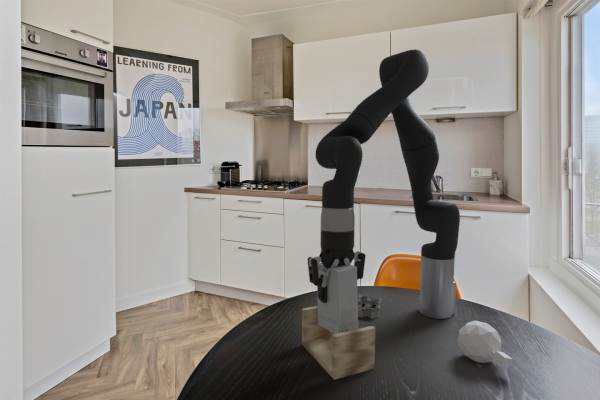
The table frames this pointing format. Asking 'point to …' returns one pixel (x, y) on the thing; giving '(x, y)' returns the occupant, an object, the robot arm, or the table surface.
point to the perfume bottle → (482, 344)
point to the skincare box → (339, 300)
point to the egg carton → (368, 306)
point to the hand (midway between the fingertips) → (336, 299)
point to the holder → (338, 346)
